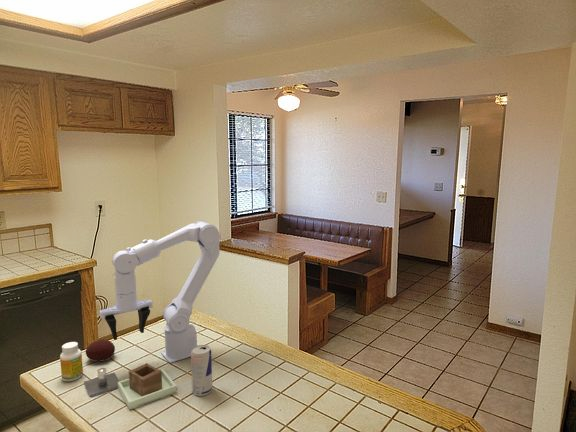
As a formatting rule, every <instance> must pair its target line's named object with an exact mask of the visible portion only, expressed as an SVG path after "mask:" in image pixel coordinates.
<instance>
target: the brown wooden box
mask: <svg viewBox="0 0 576 432" xmlns="http://www.w3.org/2000/svg"><path fill="white" fill-rule="evenodd" d="M158 369H159V368H157V367H154V366H153V365H151V364H149V363H147V362H146V363H144V364H142V365H140V366H137V367H135V368H133V369H131V370H129V371H128V379H129V383H130V389H132V390H133V391H135V392H136V393H138V394H139V395H141V396H145V395H148V394H151V393H153V392H156V391H159V390H160V389H162V372H161V371H160V370H158Z"/></svg>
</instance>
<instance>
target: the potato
mask: <svg viewBox="0 0 576 432" xmlns="http://www.w3.org/2000/svg"><path fill="white" fill-rule="evenodd" d="M115 351H116V346H115V344H114V343H113V342H112V341H111V340H107V339H98V340H95V341H93V342H92V343H90V344H89V345H87V347H86V348H85V351H84V353H85V355H86V357H87V359H89V360H90V361H93V362H103V361H107V360H109V359H110V358H112V356H113V355H114V354H115Z"/></svg>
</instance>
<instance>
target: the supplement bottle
mask: <svg viewBox="0 0 576 432" xmlns="http://www.w3.org/2000/svg"><path fill="white" fill-rule="evenodd" d="M61 351H62V352H61V353H60V356H59V361H60V362H59V363H60V372H61V380H62V381H63V382H72V381H76V380H78V379H80V378H81V377H82V376H83V375H84V369H83V356H82V350H81V349H80V348H79V343H78V342H77V341H70V342H66V343H64V344H63V345H62V346H61Z"/></svg>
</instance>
